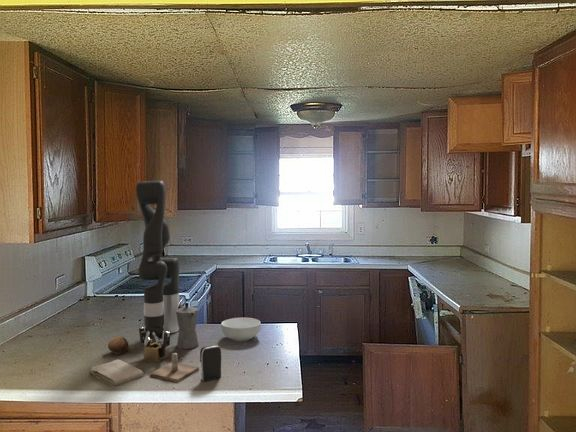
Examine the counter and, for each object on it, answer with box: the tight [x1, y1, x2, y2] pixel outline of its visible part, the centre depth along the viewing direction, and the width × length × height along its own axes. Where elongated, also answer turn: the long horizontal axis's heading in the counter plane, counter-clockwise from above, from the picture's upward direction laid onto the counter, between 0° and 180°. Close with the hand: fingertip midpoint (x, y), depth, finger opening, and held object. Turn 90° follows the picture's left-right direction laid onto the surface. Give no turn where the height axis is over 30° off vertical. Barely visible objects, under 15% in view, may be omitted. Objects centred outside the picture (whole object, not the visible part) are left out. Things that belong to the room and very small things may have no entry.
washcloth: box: [89, 359, 144, 386], centre depth 180 cm, size 12×18×3 cm, turn 49°
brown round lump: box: [107, 336, 129, 355], centre depth 202 cm, size 8×8×6 cm
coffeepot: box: [176, 302, 199, 350], centre depth 210 cm, size 15×9×18 cm, turn 33°
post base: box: [150, 352, 200, 383], centre depth 180 cm, size 12×12×7 cm
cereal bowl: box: [220, 317, 261, 342], centre depth 218 cm, size 17×17×7 cm
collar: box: [143, 341, 168, 363], centre depth 195 cm, size 6×6×5 cm
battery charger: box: [199, 344, 222, 382], centre depth 176 cm, size 7×4×11 cm, turn 121°
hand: (155, 355), depth 195 cm, fingers closed on collar, 6 cm apart
